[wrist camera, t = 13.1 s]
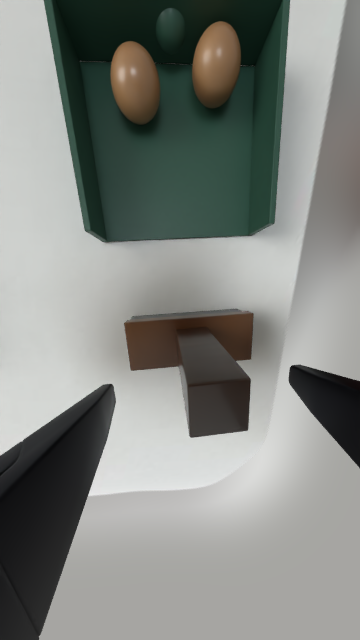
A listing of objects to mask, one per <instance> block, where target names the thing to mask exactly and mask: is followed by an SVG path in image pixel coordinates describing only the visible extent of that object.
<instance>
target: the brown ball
mask: <svg viewBox="0 0 360 640" xmlns="http://www.w3.org/2000/svg"><path fill="white" fill-rule="evenodd" d="M240 66H241V49H240V43H239V39H238V36H237V34H236V32H235V30H234V29H233V27H232V26H231V25H230V24H228V23H226V22H223V21H219V22H215V23H213V24H212V25H210V26H209V27H208V28H207V29H206V30H205V32H204V33H203V34H202V36H201V38H200V40H199V42H198V44H197V47H196V50H195V54H194V58H193V65H192V80H193V86H194V90H195V93H196V96H197V98H198V100H199V101H200V102H201V103H202V104H203V105H204V106H205V107H207V108H217V107H219V106H221V105H222V104H224V103H225V102H226V101H227V100H228V98H229V97H230V96H231V94H232V92H233V90H234V88H235V86H236V83H237V80H238V77H239V72H240Z"/></svg>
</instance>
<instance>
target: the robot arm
mask: <svg viewBox="0 0 360 640" xmlns="http://www.w3.org/2000/svg"><path fill="white" fill-rule="evenodd" d="M289 383H290V385H291V386H292V388H293V389H294V390H295V392H296V393H297V394H298V396H299V397H300V398H301V400H302V401H303V402H304V404H305V405H306V406H307V408H308V409H309V410H310V412H311V413H312V414H313V415H314V416H315V417H316V419H317V420H318V421H319V422H320V423H321V424H322V426H323V427H324V428H325V429H326V430H327V431H328V432H329V434H330V435H331V436H332V437H333V438H334V439H335V440H336V441H337V442H338V444H339V445H340V446H341V447H342V448H343V449H344V451H345V452H346V453H347V454H348V455H349V456H350V457H351V459H352V460H353V461H354V462H355V463H356V464H357V465H358V466H359V468H360V381H357V380H353V379H350V378H346V377H342V376H338V375H335V374H332V373H327V372H324V371H321V370H317V369H313V368H310V367H306V366H302V365H292V366H291V367H290V372H289ZM115 403H116V398H115V392H114V387H113V385H112V384H105V385H102V386H101V387H99V388H98V389H96V390H95V391H94V392H92V393H91V394H89V395H88V396H86V397H85V398H83V399H82V400H81V401H79V402H78V403H76V404H75V405H73V406H72V407H70V408H69V409H67V410H66V411H65V412H63V413H62V414H60V415H59V416H57V417H56V418H54V419H53V420H52V421H50V422H49V423H47V424H46V425H44V426H43V427H41V428H40V429H39V430H37V431H36V432H34V433H33V434H31V435H30V436H28V437H27V438H25V439H24V440H23V442H20V443H18V444H17V445H15V446H14V447H12V448H11V449H10V450H8V451H7V452H5V453H4V454H2V455H1V456H0V640H39V635H40V634H41V632H42V629H43V626H44V623H45V620H46V617H47V614H48V611H49V608H50V605H51V602H52V599H53V596H54V593H55V591H56V587H57V585H58V581H59V579H60V576H61V573H62V570H63V567H64V564H65V561H66V558H67V555H68V552H69V549H70V546H71V544H72V540H73V537H74V535H75V532H76V529H77V526H78V523H79V520H80V517H81V514H82V511H83V508H84V505H85V502H86V500H87V497H88V494H89V491H90V488H91V485H92V482H93V479H94V476H95V473H96V470H97V467H98V464H99V461H100V458H101V455H102V453H103V450H104V447H105V444H106V441H107V437H108V434H109V429H110V425H111V421H112V416H113V412H114V408H115Z"/></svg>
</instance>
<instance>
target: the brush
mask: <svg viewBox="0 0 360 640" xmlns="http://www.w3.org/2000/svg"><path fill="white" fill-rule="evenodd" d="M124 326H125V333H126V340H127V347H128V354H129V361H130V368H131V371H134V370H144V369H155V368H165V367H176V366H179V370H180V377H181V384H182V390H183V397H184V403H185V410H186V416H187V423H188V429H189V436H190V437H191V438H193V437H201V436H209V435H217V434H225V433H233V432H241V431H247V430H248V423H249V403H250V384H251V379H250V377H249V376H248V375H247V374H246V373H245V372H244V371H243V369H242V368H241V367H240V366H239V365H238V364H237V362H236V361H239V360H250V359H251V354H252V334H253V313H251V312H249V311H241V310H238V309H228V310H214V311H201V312H187V313H173V314H159V315H146V316H133V317H132V318H131V319H130V320H127V321H126V322H125V323H124Z"/></svg>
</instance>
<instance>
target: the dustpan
mask: <svg viewBox="0 0 360 640" xmlns="http://www.w3.org/2000/svg"><path fill="white" fill-rule="evenodd" d="M44 4H45V9H46V15H47V21H48V26H49V32H50V37H51V43H52V49H53V54H54V60H55V66H56V71H57V77H58V82H59V88H60V94H61V99H62V105H63V111H64V116H65V122H66V127H67V133H68V139H69V144H70V150H71V155H72V161H73V167H74V172H75V178H76V184H77V189H78V195H79V200H80V206H81V212H82V217H83V223H84V228H85V231H86V232H88V233H90V234H91V235H93V236H94V237H96V238H98V239H99V240H101V241H102V242H112V241H135V240H158V239H181V238H204V237H227V236H249V235H253V234H255V233H257V232H259V231H261V230H263V229H264V228H266V227H268V226H270V225H272V224H274V223H275V209H276V194H277V180H278V166H279V151H280V137H281V123H282V108H283V94H284V80H285V65H286V51H287V37H288V22H289V8H290V0H44ZM219 21H223V22H226V23H228V24H230V25H231V26H232V27H233V29H234V30H235V32H236V34H237V36H238V39H239V43H240V49H241V65H247V66H240V72H239V77H238V80H237V83H236V86H235V88H234V90H233V92H232V94H231V96H230V97H229V98H228V100H227V101H226V102H225V103H224V104H222V105H221V106H219V107H217V108H207V107H205V106H204V105H203V104H202V103H201V102H200V101H199V100H198V98H197V96H196V93H195V90H194V86H193V80H192V65H182V64H193V58H194V54H195V50H196V47H197V44H198V42H199V40H200V38H201V36H202V34H203V33H204V32H205V30H206V29H207V28H208V27H209V26H210V25H212V24H213V23H215V22H219ZM127 41H134V42H137V43H139V44H140V45H142V46H143V47H144V48H145V49H146V50H147V51H148V53H149V54H150V56H151V57H152V59H153V61H154V63H176V64H155V66H156V68H157V71H158V75H159V80H160V103H159V107H158V110H157V112H156V114H155V116H154V118H153V119H152V120H151V121H150V122H148V123H147V124H143V125H138V124H135V123H132V122H131V121H129V120H128V119H127V118H126V117H125V116H124V115H123V113H122V112H121V110H120V109H119V107H118V105H117V103H116V100H115V98H114V95H113V91H112V86H111V76H110V73H111V63H110V62H112V59H113V56H114V53H115V51H116V50H117V48H118V47H119V46H120V45H121V44H122V43H124V42H127ZM80 61H105V62H80ZM254 66H255V67H254Z"/></svg>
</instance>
